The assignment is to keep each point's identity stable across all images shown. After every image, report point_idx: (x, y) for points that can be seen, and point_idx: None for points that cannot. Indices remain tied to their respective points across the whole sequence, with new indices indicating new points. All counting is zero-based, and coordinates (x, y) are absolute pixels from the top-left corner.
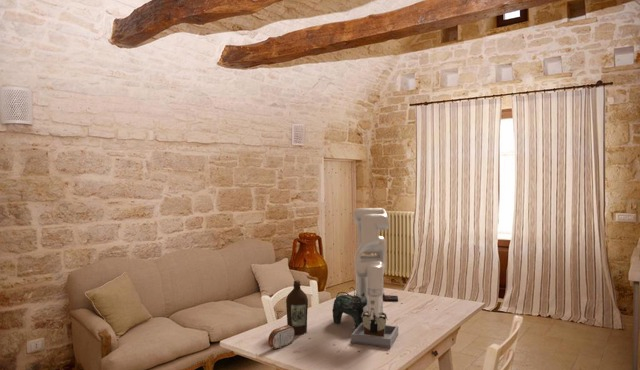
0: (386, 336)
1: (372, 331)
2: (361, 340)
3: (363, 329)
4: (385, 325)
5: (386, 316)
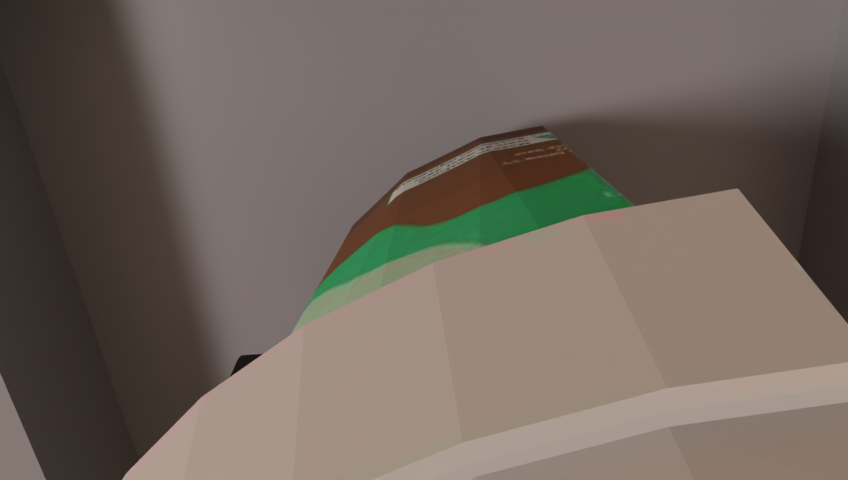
0: (317, 117)
1: None
2: None
3: None
4: (543, 202)
5: (831, 449)
